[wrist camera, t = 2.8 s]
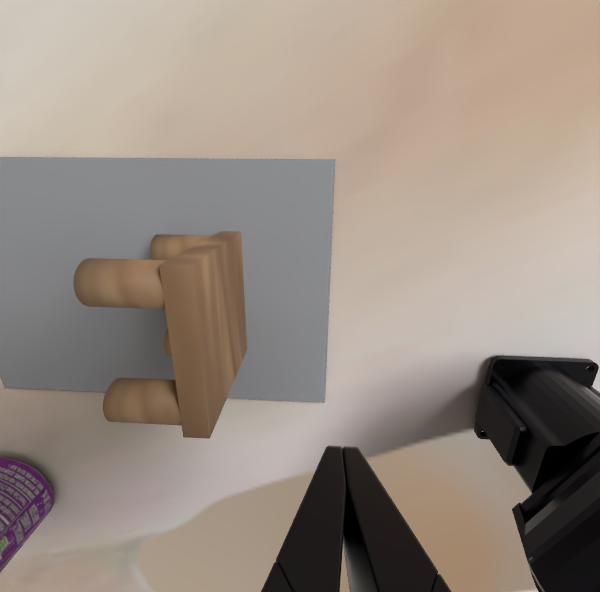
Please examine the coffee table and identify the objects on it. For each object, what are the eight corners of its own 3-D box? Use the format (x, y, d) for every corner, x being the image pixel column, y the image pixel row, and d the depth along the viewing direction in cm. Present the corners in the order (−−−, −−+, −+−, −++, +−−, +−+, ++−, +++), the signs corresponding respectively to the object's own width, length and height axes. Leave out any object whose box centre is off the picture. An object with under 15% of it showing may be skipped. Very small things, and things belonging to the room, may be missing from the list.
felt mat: (335, 160, 18) (335, 159, 18) (324, 399, 24) (324, 402, 23) (-72, 156, 19) (-78, 156, 19) (8, 385, 25) (4, 387, 25)
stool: (241, 231, 19) (190, 265, 12) (247, 350, 22) (209, 438, 15) (164, 230, 20) (67, 262, 12) (179, 347, 22) (108, 433, 15)
